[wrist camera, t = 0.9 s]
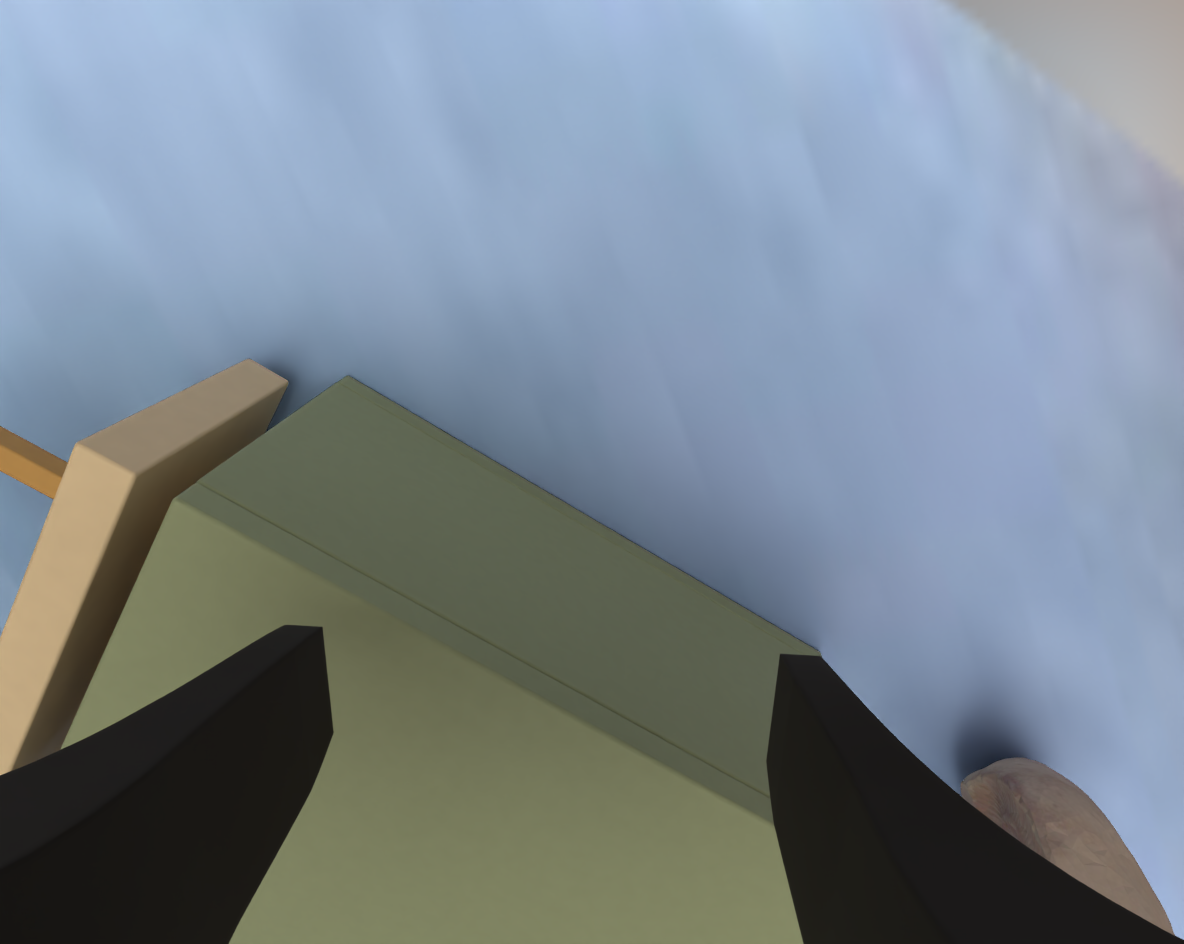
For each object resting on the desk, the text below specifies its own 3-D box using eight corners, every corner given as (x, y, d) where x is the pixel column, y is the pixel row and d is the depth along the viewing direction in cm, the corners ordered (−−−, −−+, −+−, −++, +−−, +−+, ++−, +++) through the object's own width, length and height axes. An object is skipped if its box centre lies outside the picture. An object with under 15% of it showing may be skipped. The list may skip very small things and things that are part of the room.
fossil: (939, 685, 24) (1124, 1017, 15) (1063, 680, 24) (1333, 1017, 14) (930, 838, 26) (1087, 1216, 17) (1043, 835, 26) (1270, 1219, 16)
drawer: (-49, 591, 24) (-300, 745, 18) (69, 252, 20) (-197, 294, 14) (518, 879, 27) (478, 1104, 20) (718, 628, 23) (746, 809, 16)
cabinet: (181, 699, 26) (-27, 938, 18) (347, 373, 22) (171, 496, 14) (596, 911, 28) (576, 1210, 20) (821, 651, 24) (909, 900, 16)
